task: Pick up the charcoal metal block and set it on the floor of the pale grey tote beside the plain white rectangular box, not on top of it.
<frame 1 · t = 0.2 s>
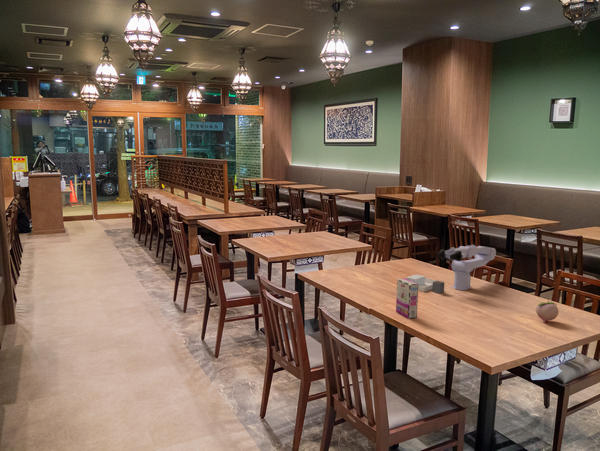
hand: (444, 256, 255), 21 cm above the table, tool horizontal, fingers open, 7 cm apart
tote: (420, 286, 274), on the table
decorative fruit: (546, 322, 218), on the table
candy bar box: (406, 315, 227), on the table
metal block: (438, 292, 263), on the table
plain white rectangular box: (415, 284, 277), resting on tote
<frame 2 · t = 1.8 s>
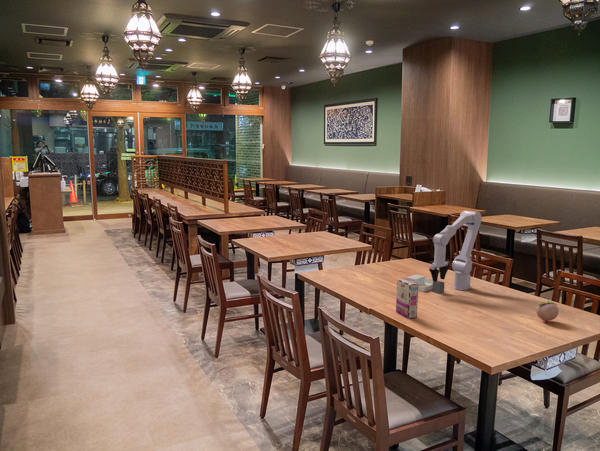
hand: (438, 280, 262), 7 cm above the table, tool pointing down, fingers open, 7 cm apart
nothing on the table moved.
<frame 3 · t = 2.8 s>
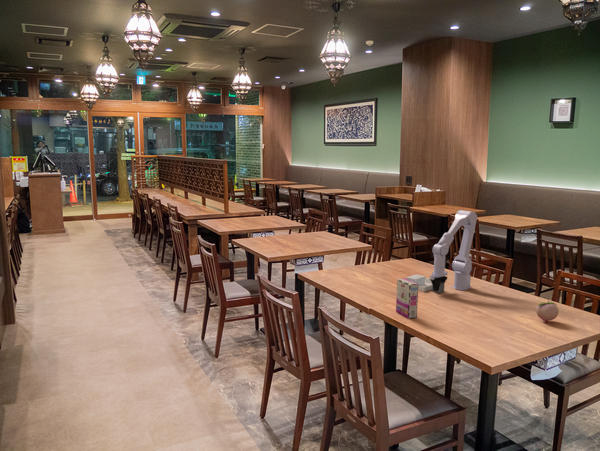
hand: (438, 290, 263), 1 cm above the table, tool pointing down, fingers closed on metal block, 4 cm apart
metal block: (438, 292, 263), on the table, touching gripper
everything else where it was.
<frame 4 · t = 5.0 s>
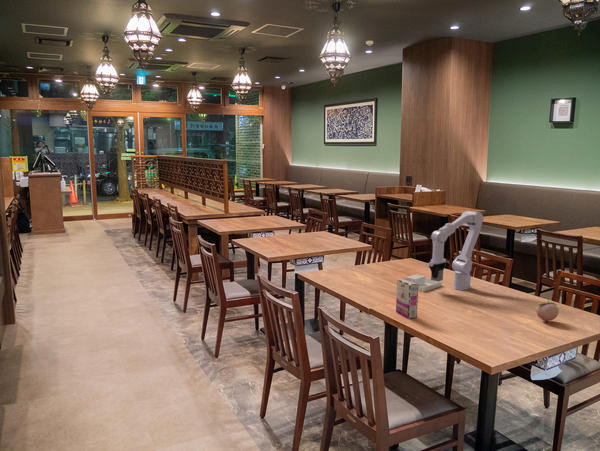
hand: (436, 277, 263), 8 cm above the table, tool pointing down, fingers closed on metal block, 4 cm apart
metal block: (436, 279, 263), point 7 cm above the table, touching gripper
everything else where it was.
when the fingers open (4 cm above the table, at t = 7.3 s): metal block drops 2 cm, resting on tote.
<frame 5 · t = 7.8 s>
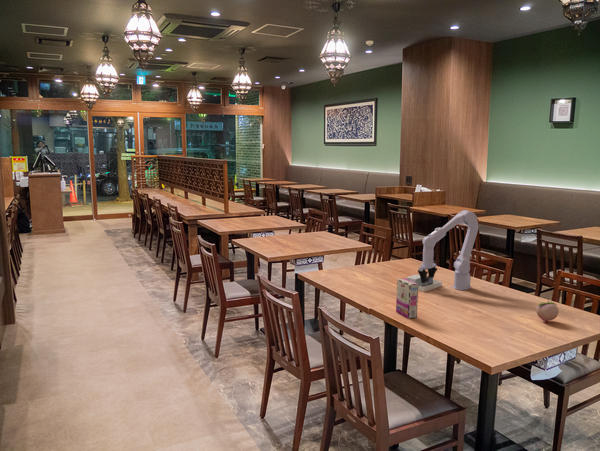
hand: (427, 281, 271), 4 cm above the table, tool pointing down, fingers open, 7 cm apart
metal block: (427, 287, 271), resting on tote
everything else where it was.
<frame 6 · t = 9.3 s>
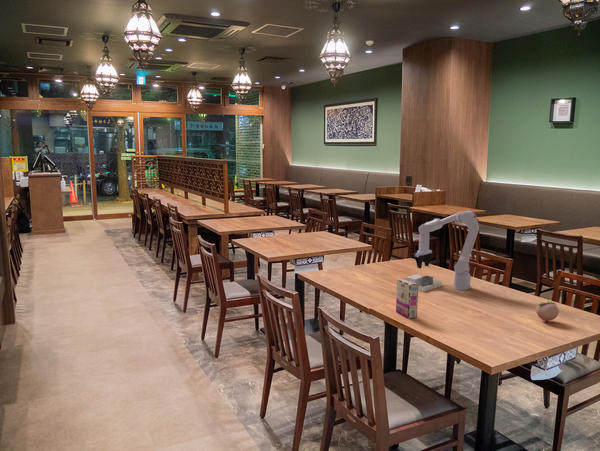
hand: (423, 267, 281), 9 cm above the table, tool pointing down, fingers open, 7 cm apart
nothing on the table moved.
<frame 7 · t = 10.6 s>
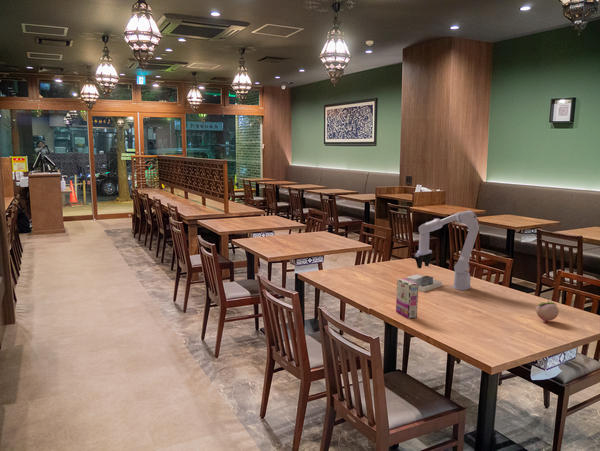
hand: (423, 267, 281), 9 cm above the table, tool pointing down, fingers open, 7 cm apart
nothing on the table moved.
at the end: metal block inside the target area (0.7 cm from its centre), point 0.5 cm above the table; metal block touching tote; plain white rectangular box moved 0.0 cm from its start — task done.
